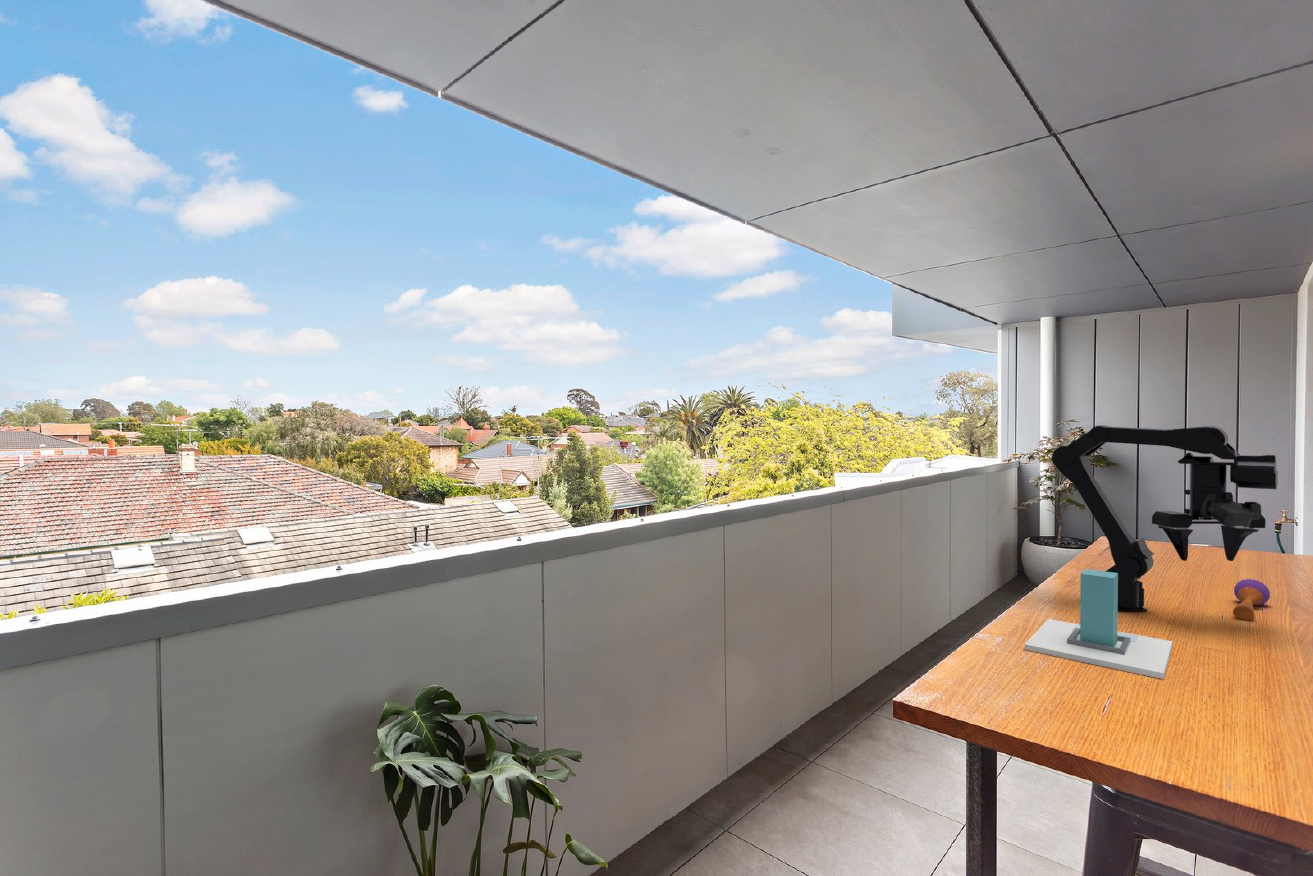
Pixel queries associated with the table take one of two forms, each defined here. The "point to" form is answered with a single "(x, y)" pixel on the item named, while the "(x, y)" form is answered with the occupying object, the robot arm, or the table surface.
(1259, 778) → the table surface
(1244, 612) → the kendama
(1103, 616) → the column
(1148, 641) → the board
